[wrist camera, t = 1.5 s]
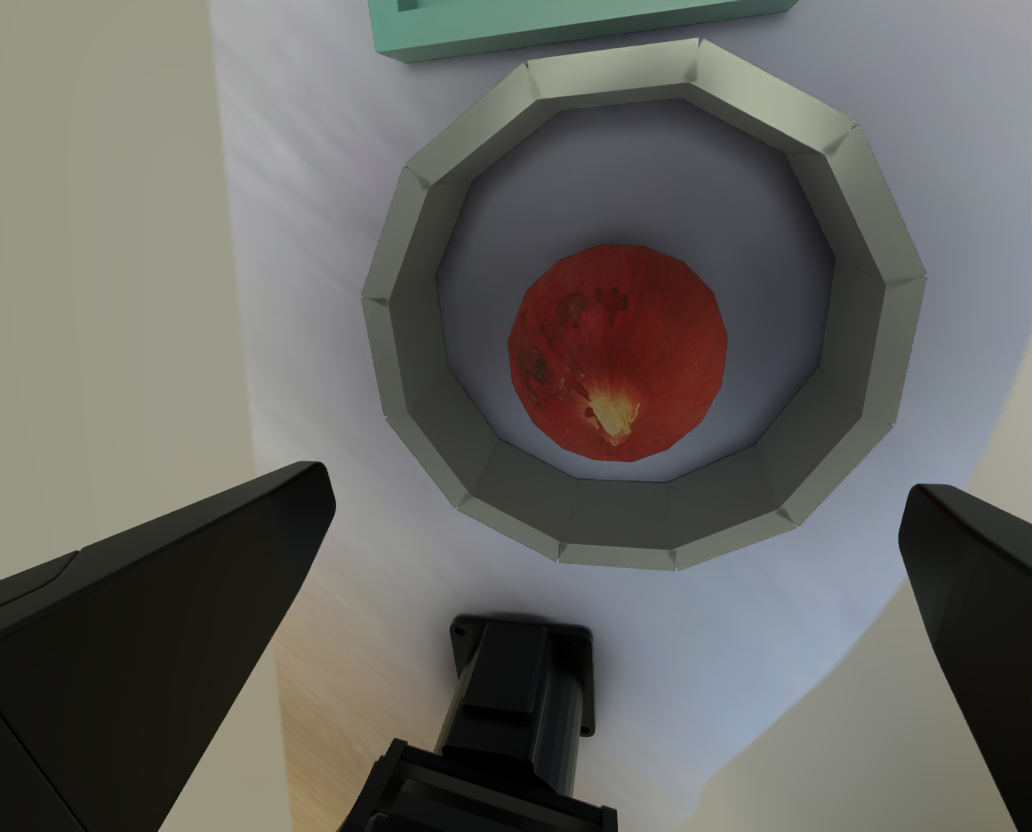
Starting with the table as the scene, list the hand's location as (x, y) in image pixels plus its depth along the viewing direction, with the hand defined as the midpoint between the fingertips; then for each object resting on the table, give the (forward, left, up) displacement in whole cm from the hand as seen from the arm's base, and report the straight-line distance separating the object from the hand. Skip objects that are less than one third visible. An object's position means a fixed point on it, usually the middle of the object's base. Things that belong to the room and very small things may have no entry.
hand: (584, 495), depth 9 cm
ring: (0, 0, -11) cm, 11 cm away
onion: (0, 0, -11) cm, 11 cm away
